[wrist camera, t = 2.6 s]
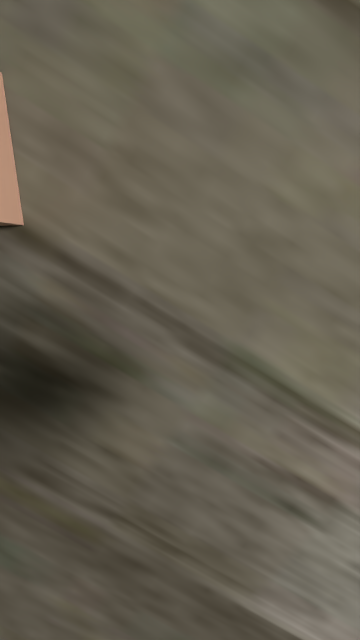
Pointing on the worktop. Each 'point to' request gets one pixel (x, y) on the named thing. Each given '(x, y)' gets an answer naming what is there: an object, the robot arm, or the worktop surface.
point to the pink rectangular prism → (7, 171)
